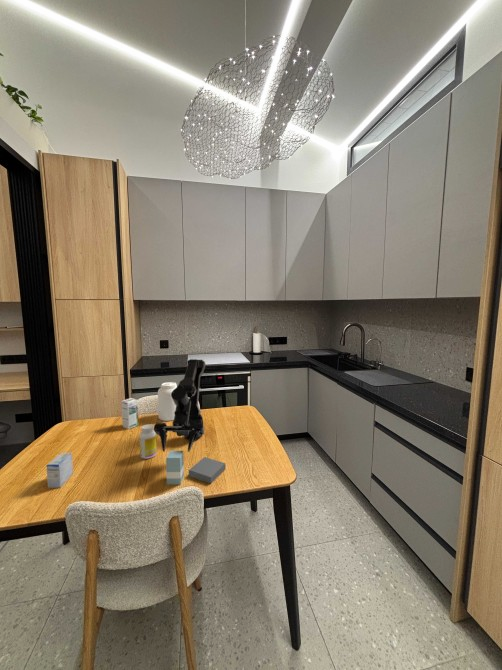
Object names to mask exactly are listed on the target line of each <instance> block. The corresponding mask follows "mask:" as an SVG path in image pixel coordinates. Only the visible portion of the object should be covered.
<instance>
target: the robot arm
mask: <svg viewBox="0 0 502 670" xmlns="http://www.w3.org/2000/svg"><path fill="white" fill-rule="evenodd" d="M186 362H187V363H186V370H185V373H184V378H183V379H182V380H180V381H179V383H178V385H177V388H175V389H174V390H173V391H172V393H171V396H172V399H173V401H174V403H175V405H176V410H175V413H174V414H175V416H174V420H172V425H167V423H166V422H156V423H155V424H154V425H153V430H154V431H155V433H156V436H157V435H158V437H160V440H161V441H160V442H161V449H162V452H164V453H165V452H166V444H167V437H168V432H172V433H175V434H176V436H178V437H184V439H186V440H188V445H187V452H190V451H191V449H192V447H193V445H194V442H195V441H197V440H199V439H200V438H201V437H203V435H205V426H204V419H203V416H202V413H201V412H202V411H201V409H200V407H199V396H200V386H201V385H200V383H201V382H200V381H201V377H202V375H203V374H204V371H205V369H206V361H205V360H204V359H197V358H195V359H194V358H192V359H191V358H190V359H188V360H187V361H186Z"/></svg>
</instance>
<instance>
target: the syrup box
mask: <svg viewBox="0 0 502 670" xmlns="http://www.w3.org/2000/svg"><path fill="white" fill-rule="evenodd" d="M138 410H139V409H138V399H136V398H134V397H129V398H126V399H124V400H121V421H122V422H121V423H122V427H123V428H124V429H128V430H130V429H132V428H135V427H137V426H139V411H138Z"/></svg>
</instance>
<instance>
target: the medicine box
mask: <svg viewBox="0 0 502 670" xmlns="http://www.w3.org/2000/svg"><path fill="white" fill-rule="evenodd" d="M73 467H74V466H73V453H72V452H64V453H63V452H62V453H59V454H58V455H56V456H55V457H54V458H53V459H52V460H50V462H49V463H47V464H46V478H47V479H46V481H47V488H49V489H50V488H51V489H55V488H62V486H63V485H64V484H65V483H66V481H68V480H69V479H70V477H72V476H73V474H74V469H73Z"/></svg>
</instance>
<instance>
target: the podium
mask: <svg viewBox="0 0 502 670" xmlns="http://www.w3.org/2000/svg"><path fill="white" fill-rule="evenodd" d="M226 469H227V468H226V462H222V461H220V460H216V459H212V458H208V457H206V456H204V457H203V458H202V459H200V460H199V461H198V462H196V463H195V464H194V465H193V466H192V467H190V468H189V469H188V477H190V478H193V479H196V480H199V481H201V482H202V481H203V482H205V483H208V484H212V483H213V482H214V481H216V479H217V478H218V477H219V476H220V475H221V474H223V473H224V471H226Z"/></svg>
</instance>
